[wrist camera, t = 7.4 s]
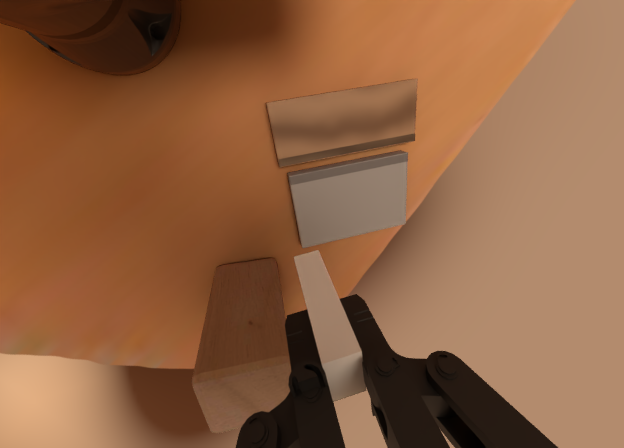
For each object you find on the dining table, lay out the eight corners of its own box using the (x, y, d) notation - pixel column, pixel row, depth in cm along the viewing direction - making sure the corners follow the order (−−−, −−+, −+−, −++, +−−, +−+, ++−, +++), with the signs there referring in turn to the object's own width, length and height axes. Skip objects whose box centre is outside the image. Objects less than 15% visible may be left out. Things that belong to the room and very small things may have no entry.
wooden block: (276, 254, 43) (292, 362, 25) (281, 299, 47) (298, 417, 30) (214, 263, 41) (186, 386, 23) (226, 308, 45) (209, 440, 28)
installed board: (265, 102, 32) (266, 102, 30) (408, 79, 35) (418, 78, 33) (278, 163, 36) (279, 167, 34) (406, 139, 38) (414, 141, 36)
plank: (287, 172, 37) (288, 176, 35) (400, 150, 39) (407, 152, 37) (300, 242, 42) (302, 248, 40) (399, 219, 44) (405, 223, 43)
